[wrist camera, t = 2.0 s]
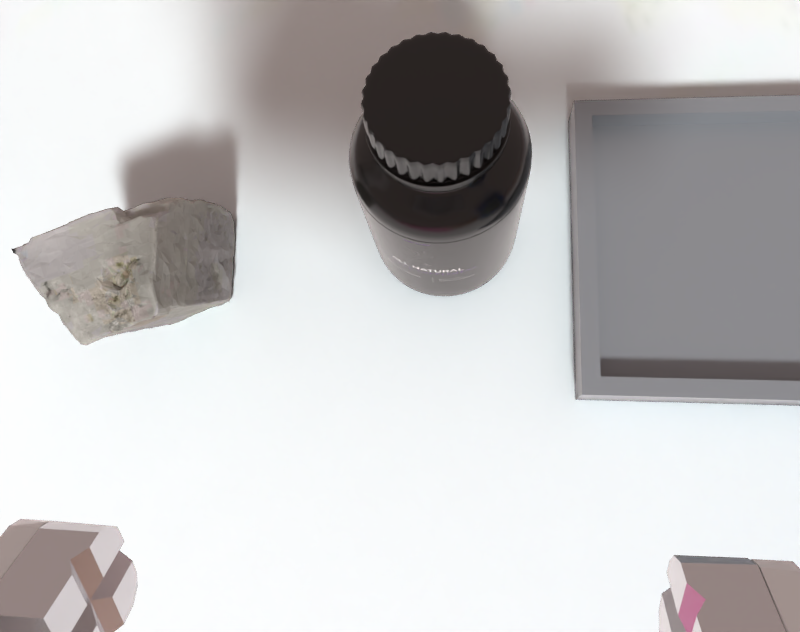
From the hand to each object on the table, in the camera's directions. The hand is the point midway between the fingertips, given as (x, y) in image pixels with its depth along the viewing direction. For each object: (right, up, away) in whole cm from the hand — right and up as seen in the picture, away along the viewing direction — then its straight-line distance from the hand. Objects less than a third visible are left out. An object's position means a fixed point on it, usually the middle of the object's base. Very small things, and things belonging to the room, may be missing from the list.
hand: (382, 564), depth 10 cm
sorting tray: (+15, +7, +21) cm, 26 cm away
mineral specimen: (-10, +5, +23) cm, 26 cm away
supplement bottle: (+3, +8, +23) cm, 24 cm away
